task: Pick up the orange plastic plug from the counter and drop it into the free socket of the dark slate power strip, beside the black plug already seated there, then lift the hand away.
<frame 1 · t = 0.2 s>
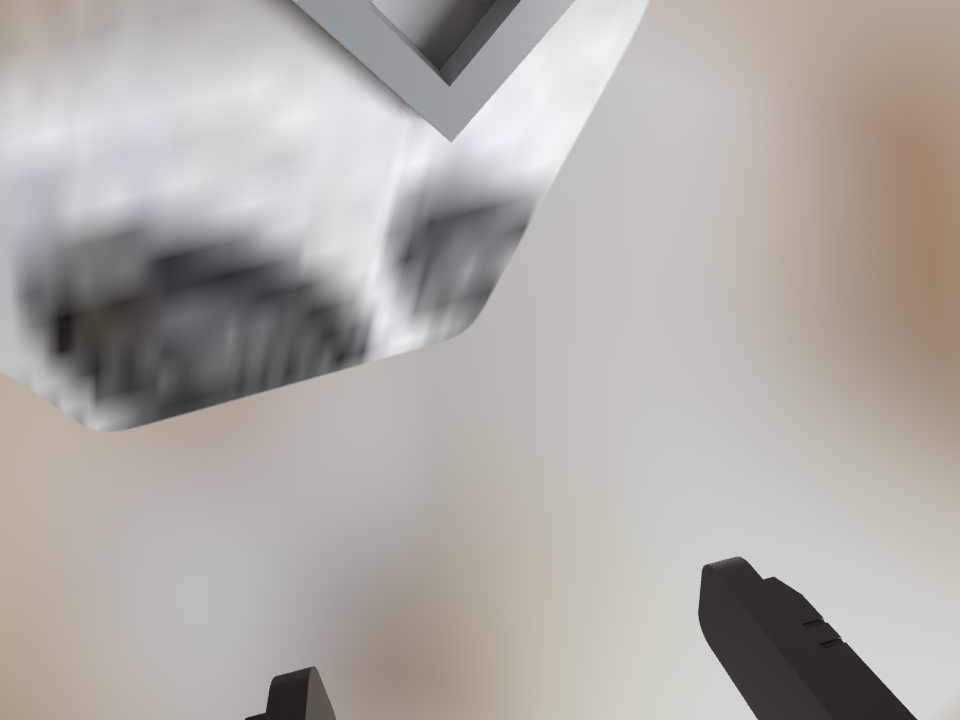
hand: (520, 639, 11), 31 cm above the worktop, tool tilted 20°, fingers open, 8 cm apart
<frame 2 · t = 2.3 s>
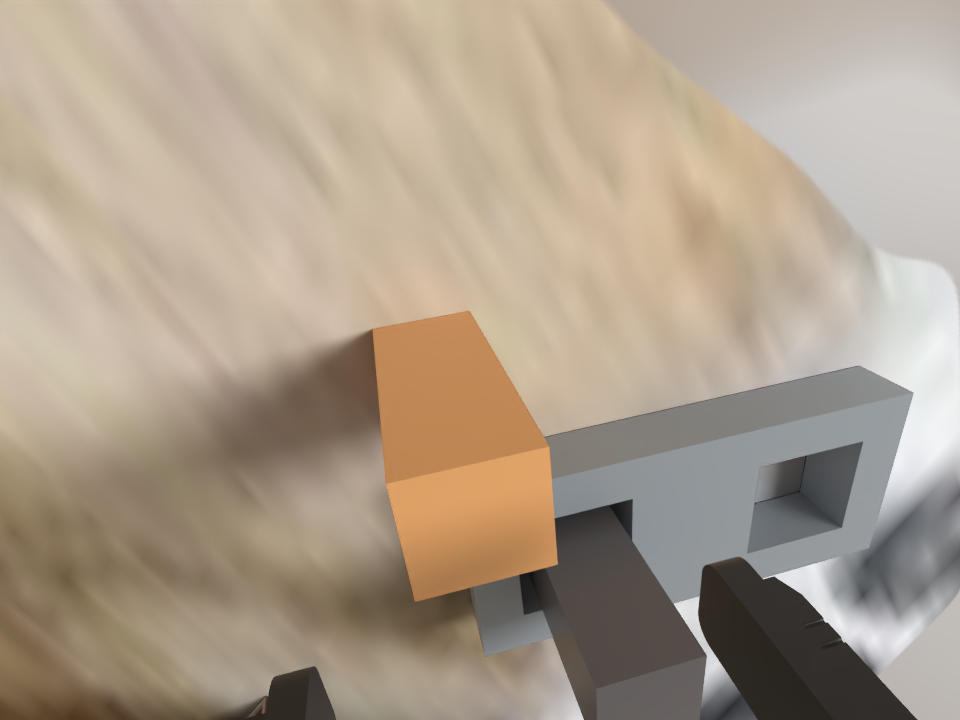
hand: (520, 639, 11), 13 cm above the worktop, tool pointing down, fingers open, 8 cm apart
orange plug: (429, 363, 22), on the worktop
slate power strip: (661, 489, 28), on the worktop
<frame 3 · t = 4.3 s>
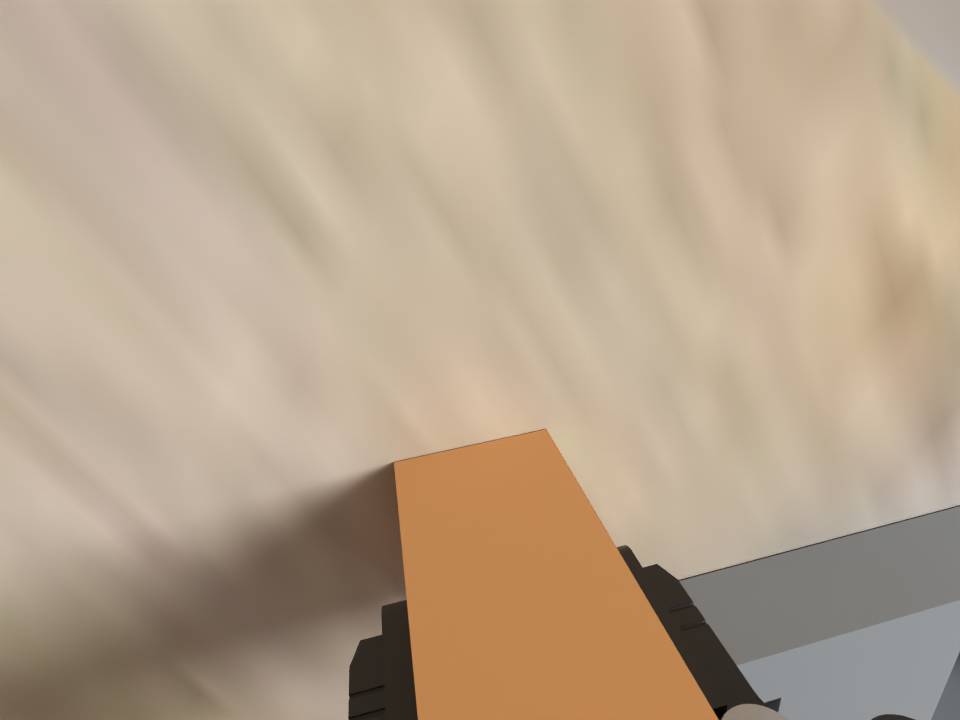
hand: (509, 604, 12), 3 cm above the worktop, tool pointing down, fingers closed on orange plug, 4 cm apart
orange plug: (480, 505, 14), on the worktop, touching gripper
slate power strip: (791, 642, 20), on the worktop
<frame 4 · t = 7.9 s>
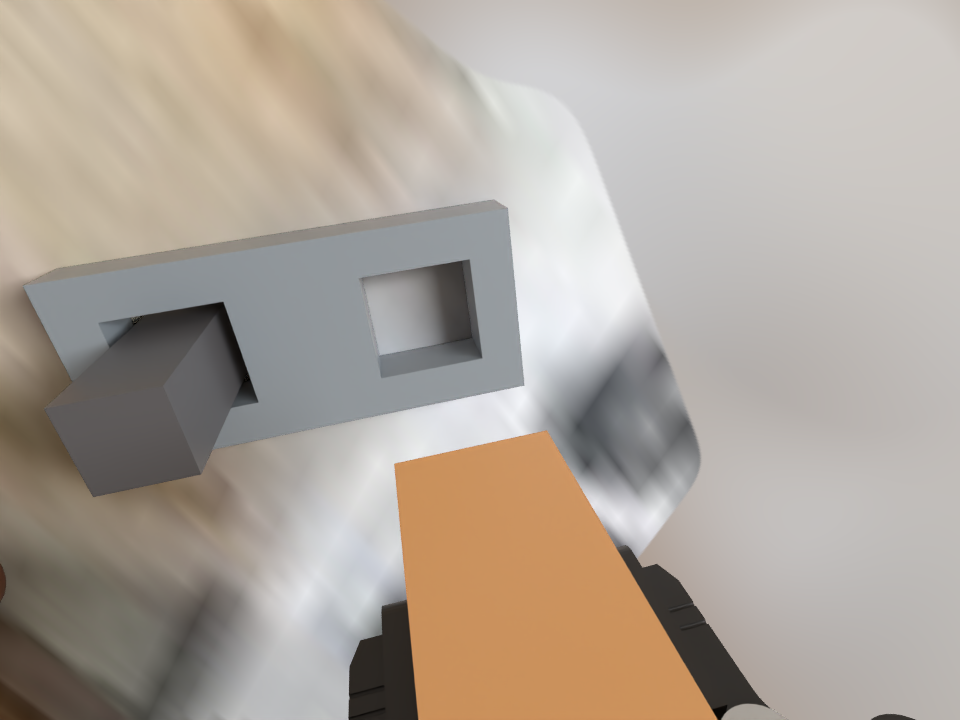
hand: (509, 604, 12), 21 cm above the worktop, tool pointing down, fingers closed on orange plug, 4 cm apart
orange plug: (481, 507, 14), point 18 cm above the worktop, touching gripper
slate power strip: (312, 321, 29), on the worktop
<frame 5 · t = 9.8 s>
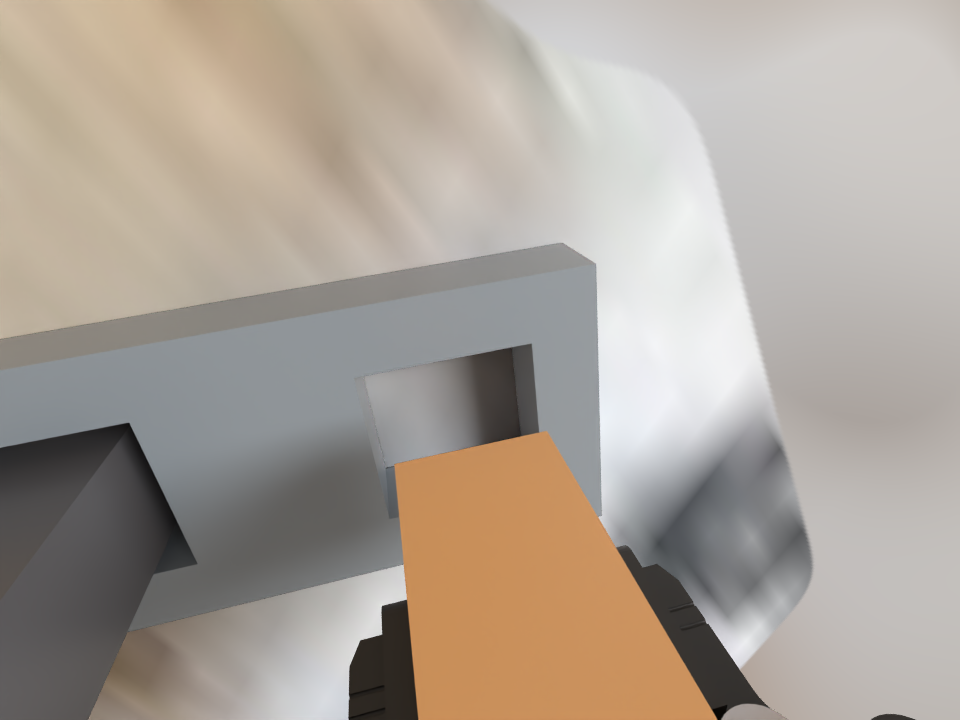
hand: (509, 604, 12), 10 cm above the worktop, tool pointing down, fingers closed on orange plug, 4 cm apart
orange plug: (481, 507, 14), point 7 cm above the worktop, touching gripper
slate power strip: (284, 426, 19), on the worktop
when the fingers open (5 cm above the worktop, at t = 11.6 s): orange plug drops 1 cm, resting in slate power strip.
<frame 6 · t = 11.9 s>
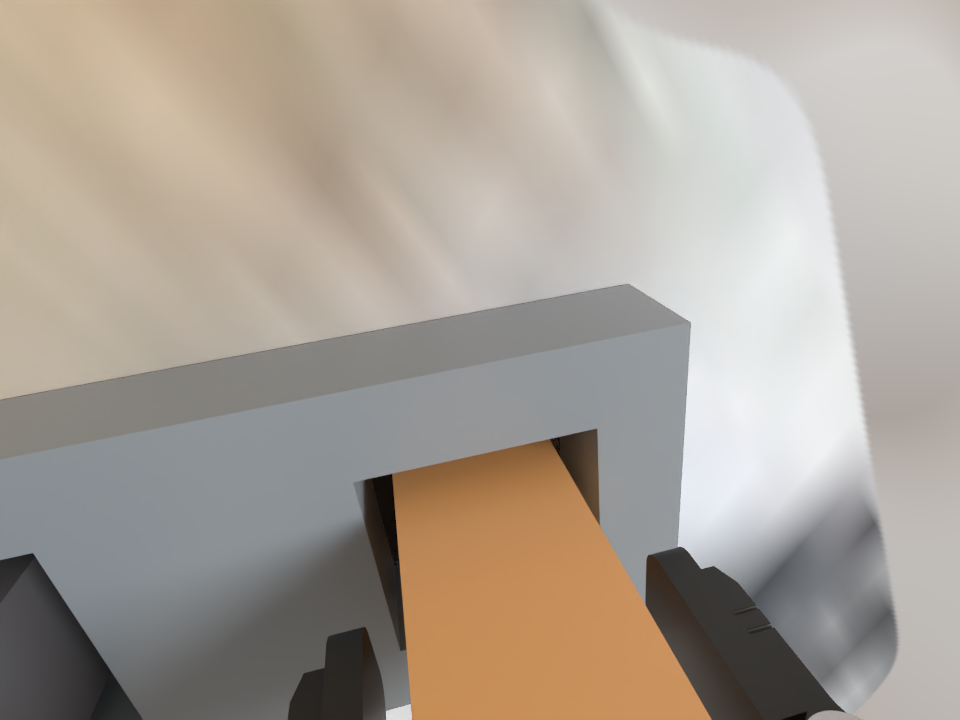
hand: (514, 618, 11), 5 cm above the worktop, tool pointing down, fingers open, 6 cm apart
orange plug: (468, 473, 16), resting in slate power strip
slate power strip: (262, 520, 15), on the worktop
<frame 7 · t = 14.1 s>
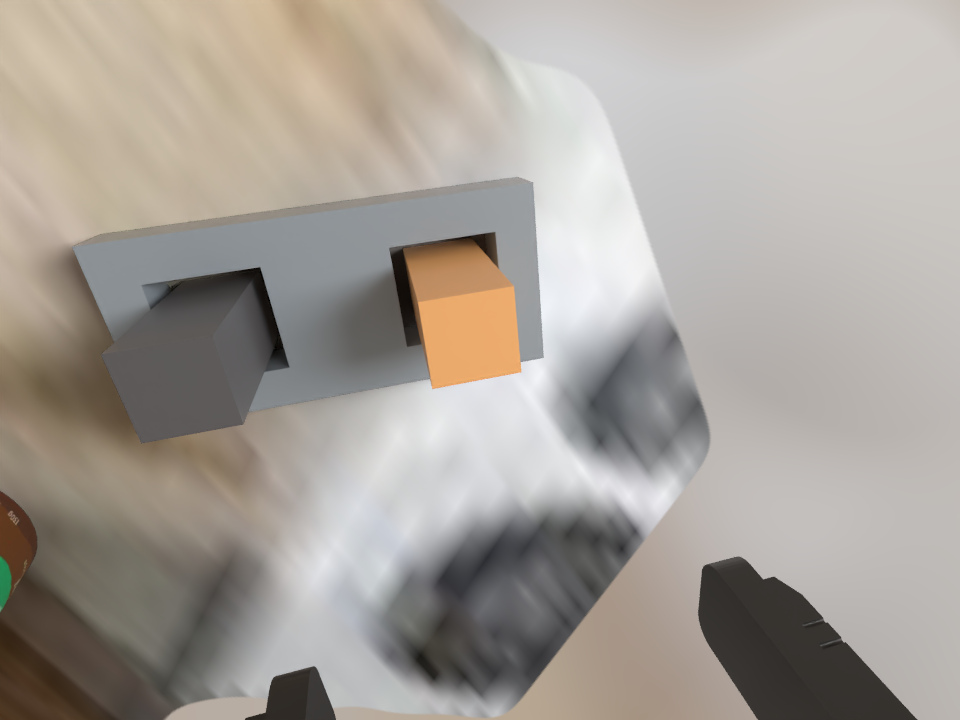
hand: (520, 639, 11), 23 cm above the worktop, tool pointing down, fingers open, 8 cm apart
orange plug: (442, 276, 31), resting in slate power strip
slate power strip: (340, 292, 31), on the worktop
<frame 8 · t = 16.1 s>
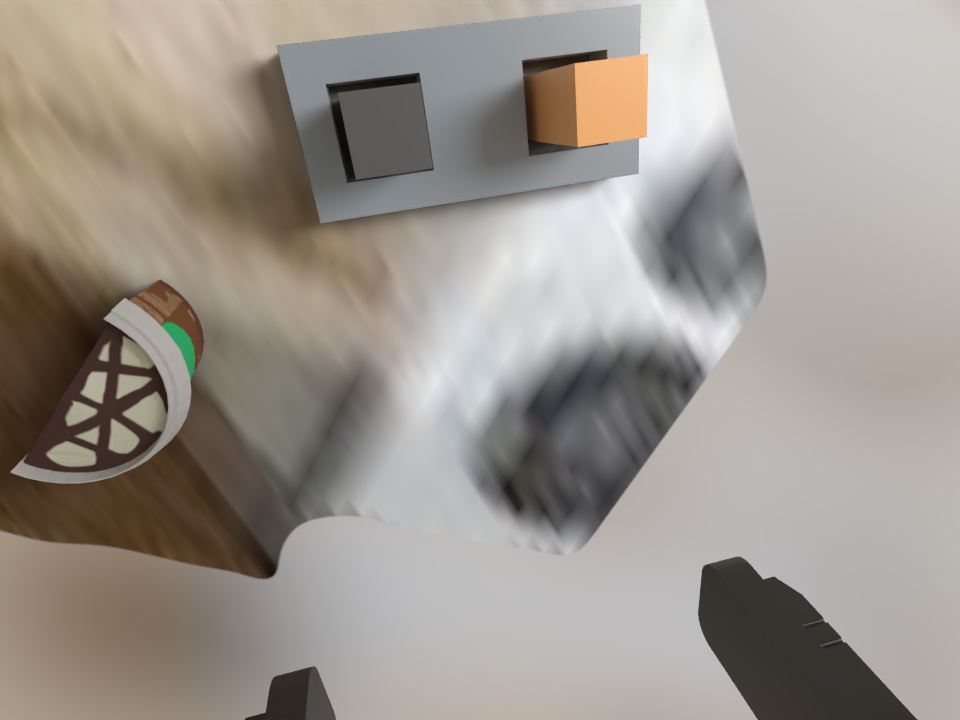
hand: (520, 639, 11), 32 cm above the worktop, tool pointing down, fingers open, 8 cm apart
orange plug: (551, 105, 37), resting in slate power strip
slate power strip: (468, 116, 36), on the worktop
food container: (171, 352, 39), on the worktop
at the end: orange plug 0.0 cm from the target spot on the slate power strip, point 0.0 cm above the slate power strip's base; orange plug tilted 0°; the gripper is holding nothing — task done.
